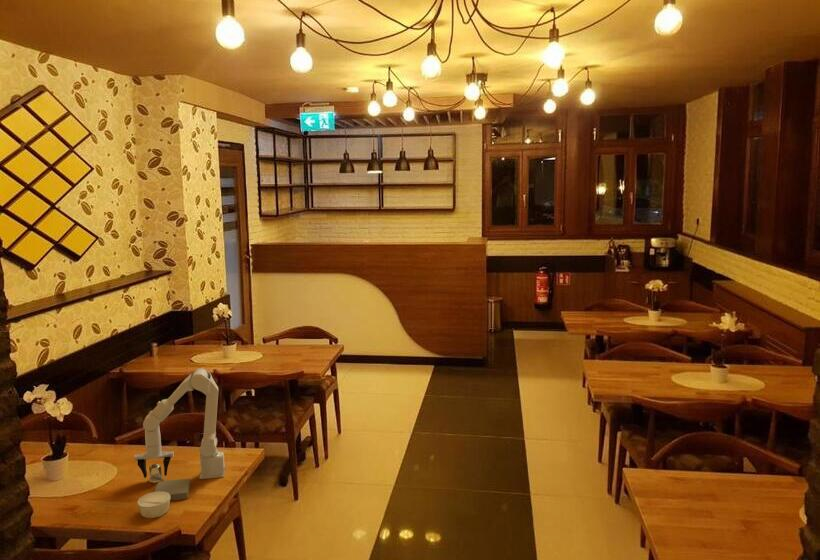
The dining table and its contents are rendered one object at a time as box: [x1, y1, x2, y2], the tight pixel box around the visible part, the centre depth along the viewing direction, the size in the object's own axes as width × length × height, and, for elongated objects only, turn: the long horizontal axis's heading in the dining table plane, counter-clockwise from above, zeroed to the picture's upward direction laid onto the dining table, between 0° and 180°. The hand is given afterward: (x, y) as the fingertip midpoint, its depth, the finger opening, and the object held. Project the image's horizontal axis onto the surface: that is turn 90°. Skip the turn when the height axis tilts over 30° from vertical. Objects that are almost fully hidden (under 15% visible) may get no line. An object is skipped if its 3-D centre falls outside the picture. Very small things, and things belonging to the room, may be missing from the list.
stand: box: [154, 477, 192, 502], centre depth 247 cm, size 12×12×2 cm
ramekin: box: [136, 491, 171, 519], centre depth 233 cm, size 11×11×5 cm
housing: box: [148, 463, 164, 484], centre depth 257 cm, size 5×5×7 cm
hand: (155, 475), depth 257 cm, fingers open, 7 cm apart
